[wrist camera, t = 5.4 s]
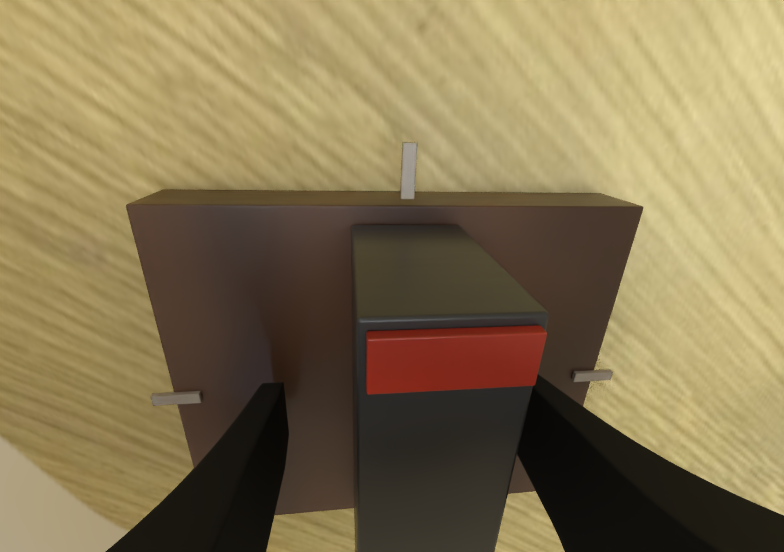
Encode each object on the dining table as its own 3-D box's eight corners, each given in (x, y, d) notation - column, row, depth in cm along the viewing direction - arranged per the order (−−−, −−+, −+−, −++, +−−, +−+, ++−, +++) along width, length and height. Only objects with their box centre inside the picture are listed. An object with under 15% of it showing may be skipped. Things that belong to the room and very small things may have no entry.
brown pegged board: (214, 501, 16) (196, 554, 14) (125, 130, 10) (72, 134, 8) (541, 473, 18) (564, 517, 16) (631, 143, 12) (687, 149, 10)
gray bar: (430, 494, 15) (471, 679, 10) (353, 501, 14) (358, 696, 9) (459, 224, 10) (561, 320, 5) (350, 224, 10) (356, 327, 5)
